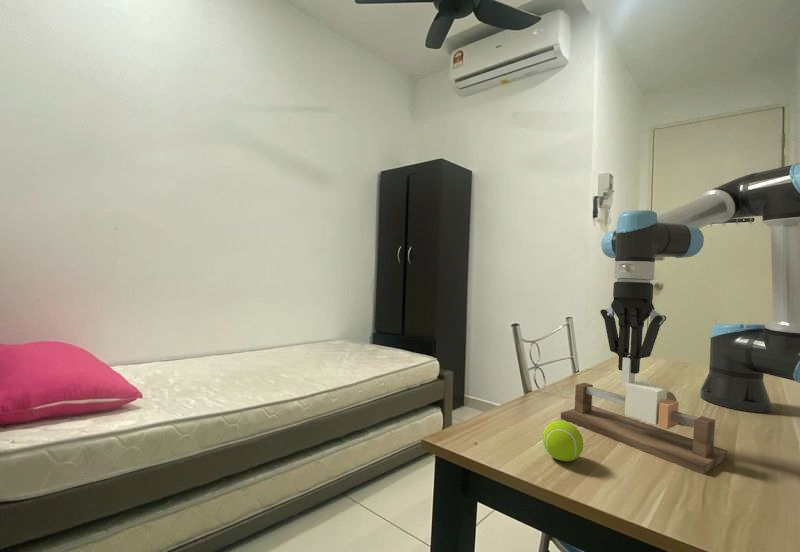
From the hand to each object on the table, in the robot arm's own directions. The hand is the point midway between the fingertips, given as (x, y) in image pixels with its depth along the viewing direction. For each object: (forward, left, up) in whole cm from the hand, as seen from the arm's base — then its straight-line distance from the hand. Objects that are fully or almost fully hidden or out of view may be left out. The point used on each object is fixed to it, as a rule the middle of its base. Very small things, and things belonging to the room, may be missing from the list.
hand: (627, 386), depth 83 cm
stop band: (0, +8, -6) cm, 10 cm away
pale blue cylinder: (-21, -2, -11) cm, 23 cm away
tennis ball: (+24, 0, -11) cm, 26 cm away
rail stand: (0, +2, -10) cm, 11 cm away
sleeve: (0, +4, -6) cm, 7 cm away
